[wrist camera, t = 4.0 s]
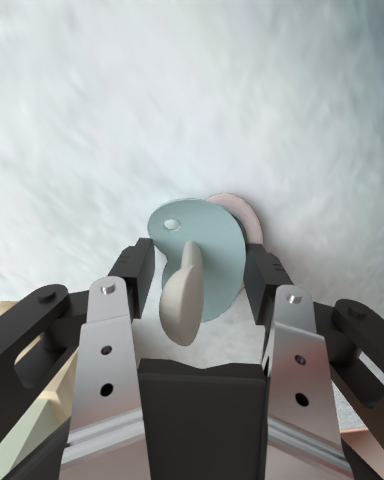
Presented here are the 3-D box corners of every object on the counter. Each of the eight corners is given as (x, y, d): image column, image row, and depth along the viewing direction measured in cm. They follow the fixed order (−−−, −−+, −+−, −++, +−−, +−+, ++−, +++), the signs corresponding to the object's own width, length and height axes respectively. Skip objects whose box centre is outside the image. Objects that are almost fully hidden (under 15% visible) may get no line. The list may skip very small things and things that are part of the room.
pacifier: (260, 177, 11) (145, 191, 12) (329, 225, 6) (104, 251, 6) (259, 289, 15) (169, 298, 15) (301, 388, 9) (157, 400, 9)
